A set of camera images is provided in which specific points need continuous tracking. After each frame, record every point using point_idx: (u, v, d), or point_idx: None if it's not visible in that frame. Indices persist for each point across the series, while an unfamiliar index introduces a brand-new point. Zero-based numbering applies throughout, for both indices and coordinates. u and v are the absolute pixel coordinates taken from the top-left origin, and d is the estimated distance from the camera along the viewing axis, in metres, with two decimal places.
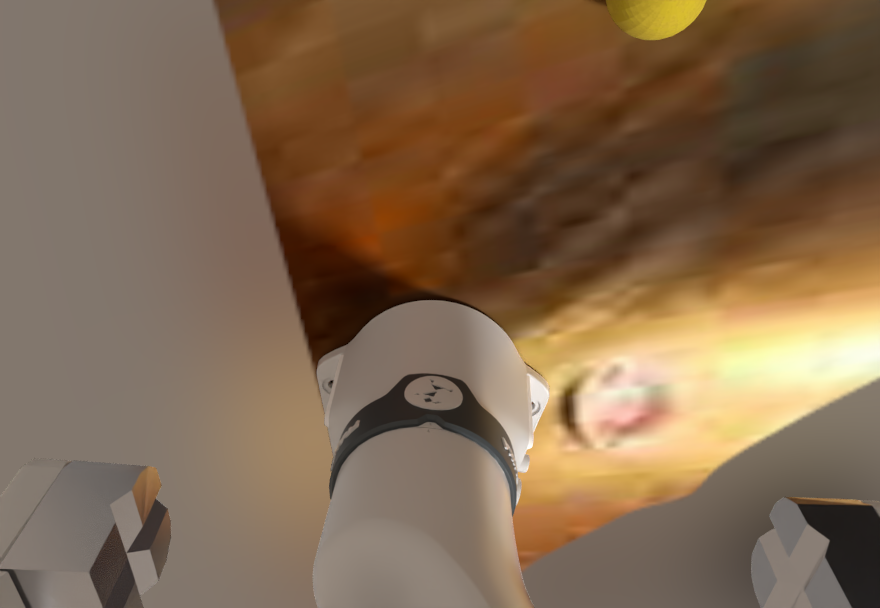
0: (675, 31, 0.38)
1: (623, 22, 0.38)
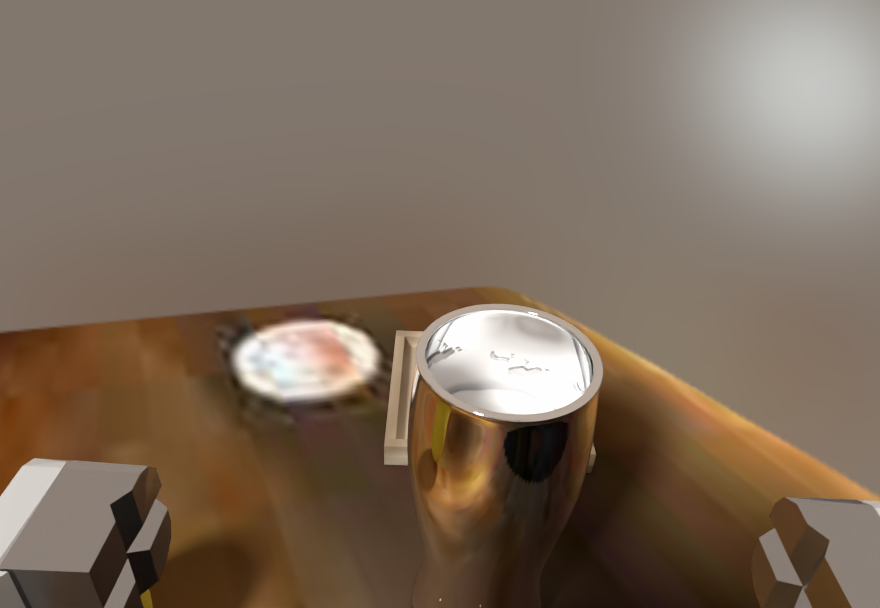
0: None
1: None
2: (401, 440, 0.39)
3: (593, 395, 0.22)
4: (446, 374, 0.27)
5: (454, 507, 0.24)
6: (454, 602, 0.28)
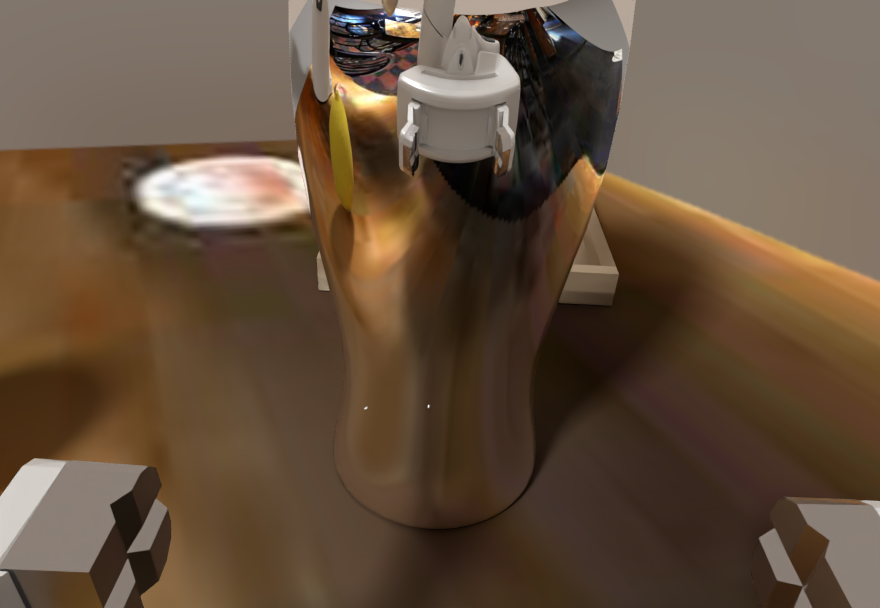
0: None
1: None
2: None
3: None
4: None
5: (361, 151, 0.12)
6: (386, 406, 0.17)
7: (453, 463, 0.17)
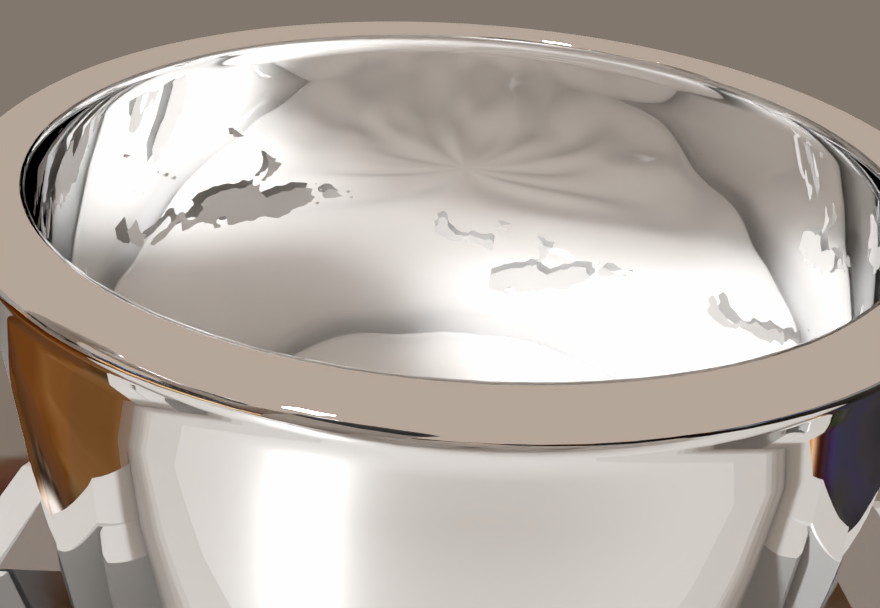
0: None
1: None
2: None
3: None
4: (294, 276, 0.09)
5: None
6: None
7: None
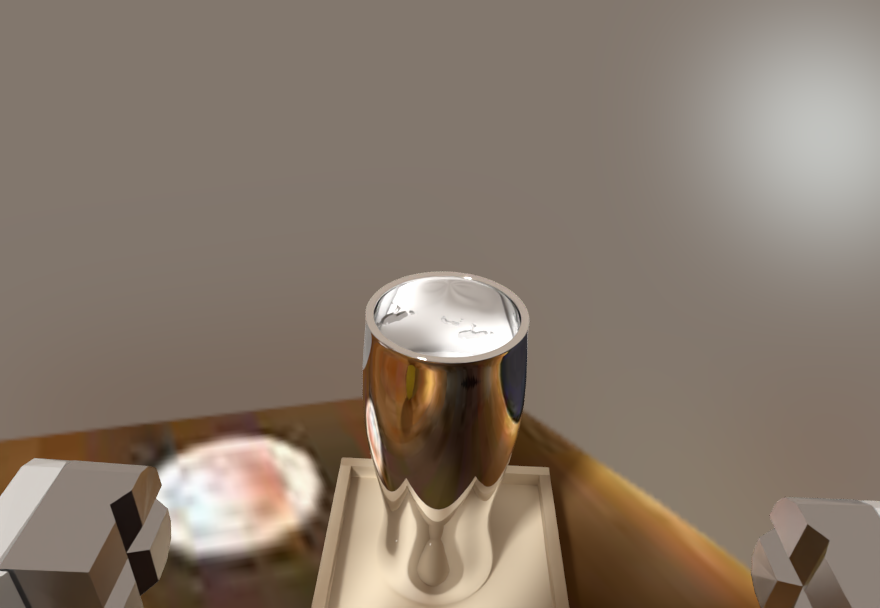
0: None
1: None
2: None
3: (515, 344, 0.25)
4: (401, 335, 0.31)
5: (398, 445, 0.27)
6: (407, 542, 0.31)
7: (444, 571, 0.32)
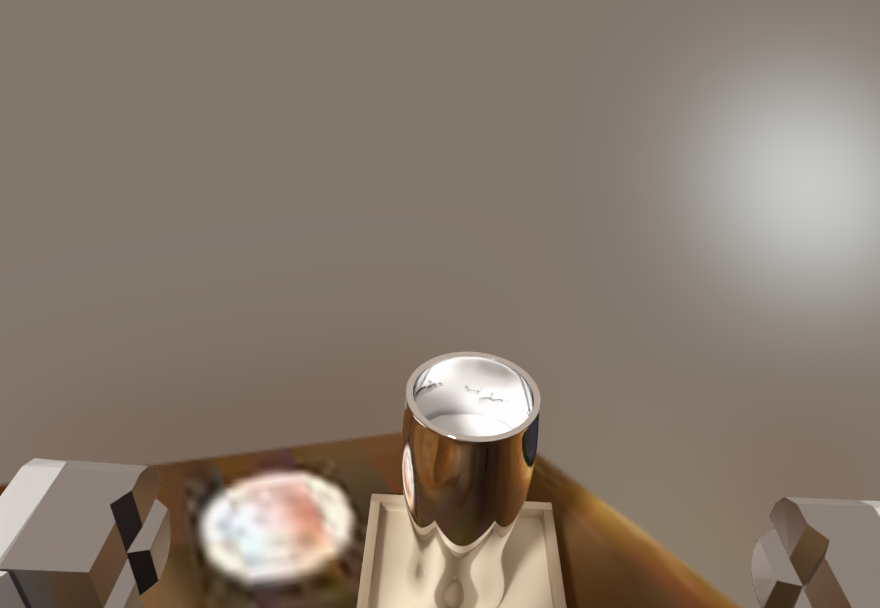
0: None
1: None
2: None
3: (530, 423, 0.31)
4: (431, 402, 0.37)
5: (432, 501, 0.33)
6: (435, 575, 0.37)
7: (464, 598, 0.38)
